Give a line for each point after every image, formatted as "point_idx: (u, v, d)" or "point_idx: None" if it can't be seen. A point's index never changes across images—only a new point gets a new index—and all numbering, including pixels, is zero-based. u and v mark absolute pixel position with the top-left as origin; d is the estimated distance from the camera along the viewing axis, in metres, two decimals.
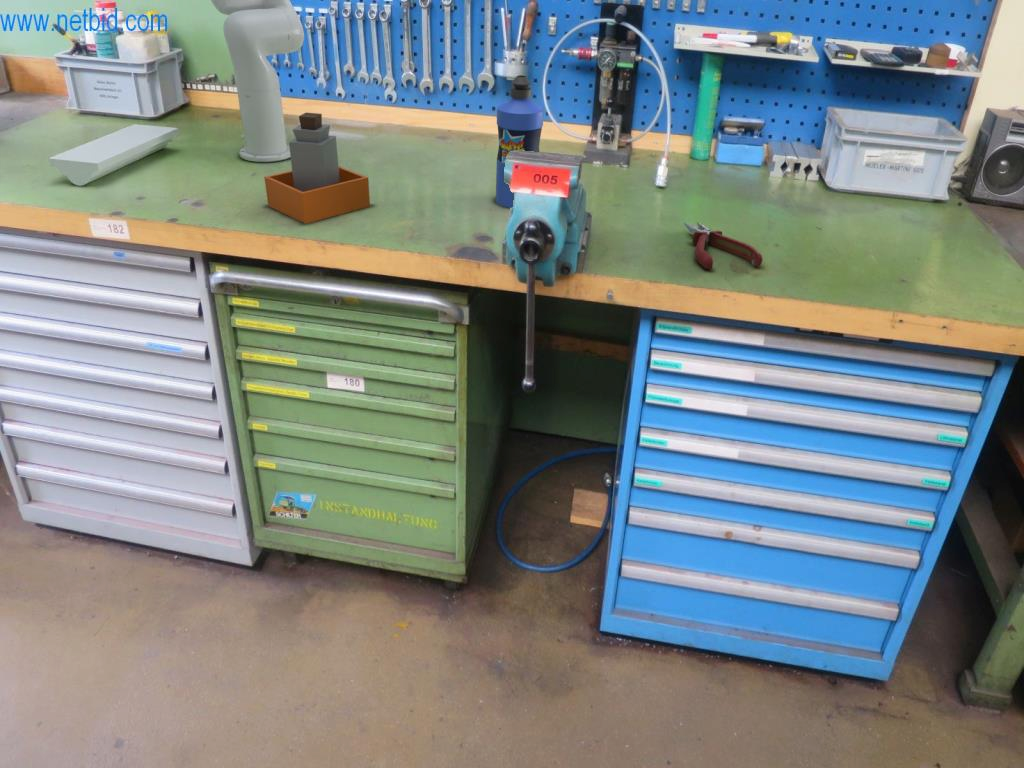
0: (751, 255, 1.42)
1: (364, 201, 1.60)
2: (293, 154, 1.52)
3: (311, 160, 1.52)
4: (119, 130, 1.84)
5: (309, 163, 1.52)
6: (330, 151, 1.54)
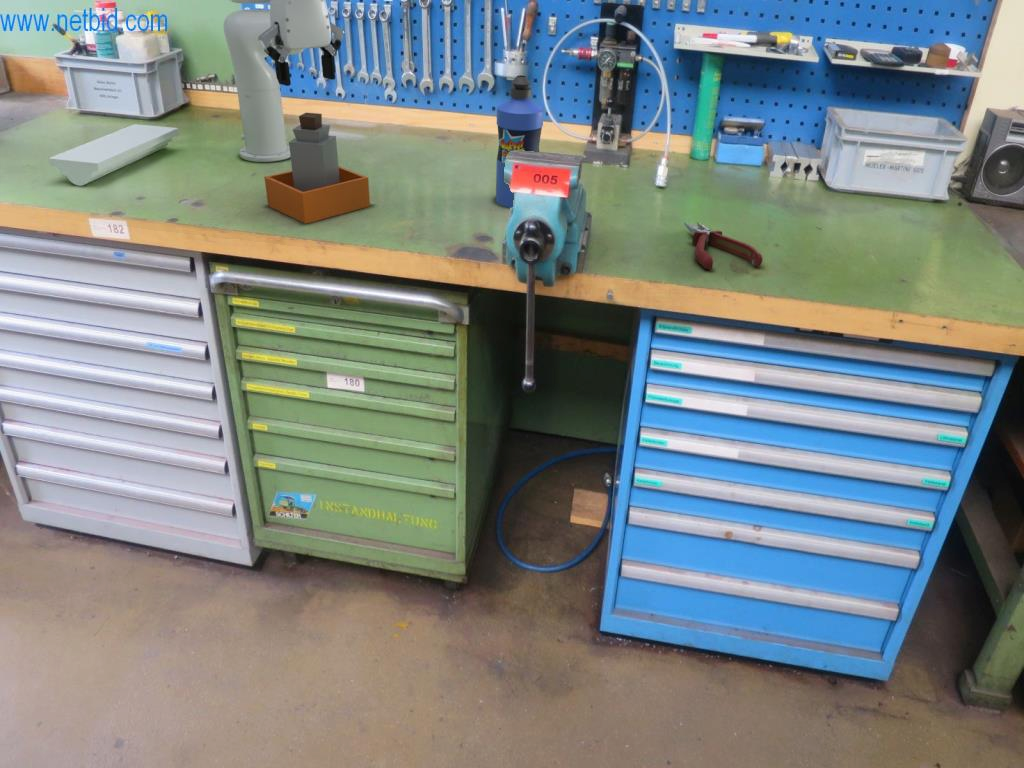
0: (751, 255, 1.42)
1: (364, 201, 1.60)
2: (293, 154, 1.52)
3: (311, 160, 1.52)
4: (119, 130, 1.84)
5: (309, 163, 1.52)
6: (330, 151, 1.54)
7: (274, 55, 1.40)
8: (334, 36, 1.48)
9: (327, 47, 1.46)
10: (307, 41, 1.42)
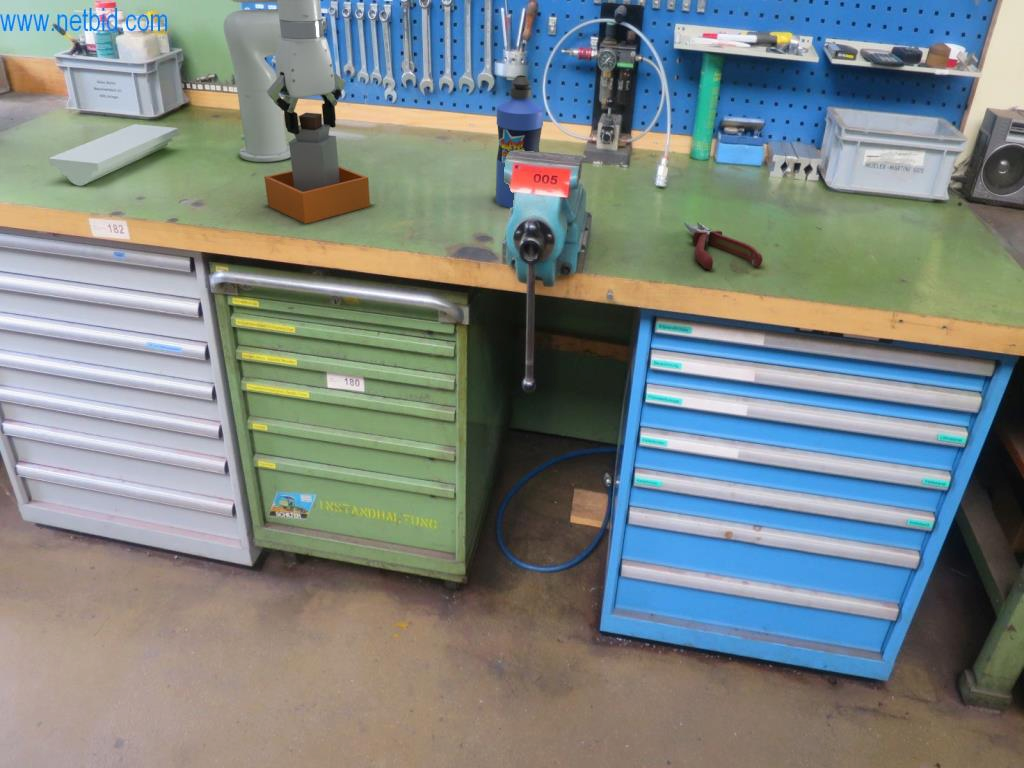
0: (751, 255, 1.42)
1: (364, 201, 1.60)
2: (293, 154, 1.52)
3: (311, 160, 1.52)
4: (119, 130, 1.84)
5: (309, 162, 1.52)
6: (330, 151, 1.54)
7: (283, 106, 1.45)
8: (335, 85, 1.53)
9: (328, 96, 1.51)
10: (311, 89, 1.47)
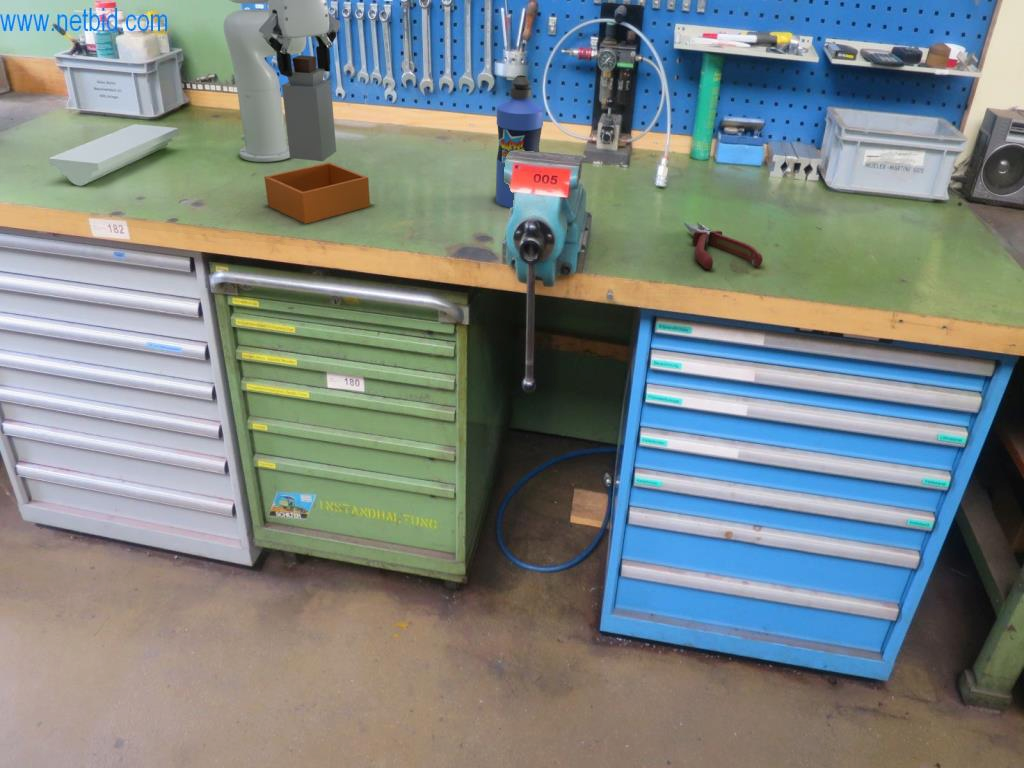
0: (751, 255, 1.42)
1: (364, 201, 1.60)
2: (286, 98, 1.47)
3: (305, 105, 1.47)
4: (119, 130, 1.84)
5: (302, 107, 1.47)
6: (325, 96, 1.49)
7: (276, 46, 1.40)
8: (330, 27, 1.47)
9: (323, 37, 1.45)
10: (305, 29, 1.41)
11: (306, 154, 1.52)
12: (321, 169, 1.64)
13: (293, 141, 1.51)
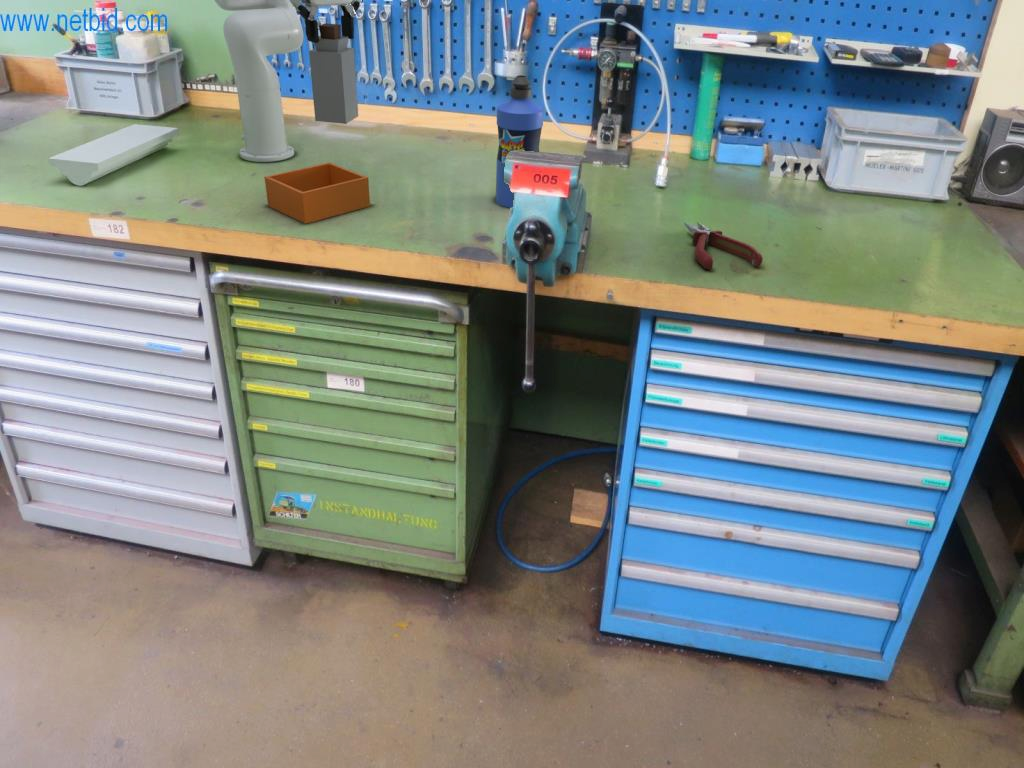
0: (751, 255, 1.42)
1: (364, 201, 1.60)
2: (313, 63, 1.57)
3: (330, 69, 1.57)
4: (119, 130, 1.84)
5: (328, 72, 1.57)
6: (349, 62, 1.59)
7: (304, 13, 1.50)
8: None
9: (347, 6, 1.56)
10: None
11: (330, 117, 1.62)
12: (321, 169, 1.64)
13: (318, 105, 1.61)
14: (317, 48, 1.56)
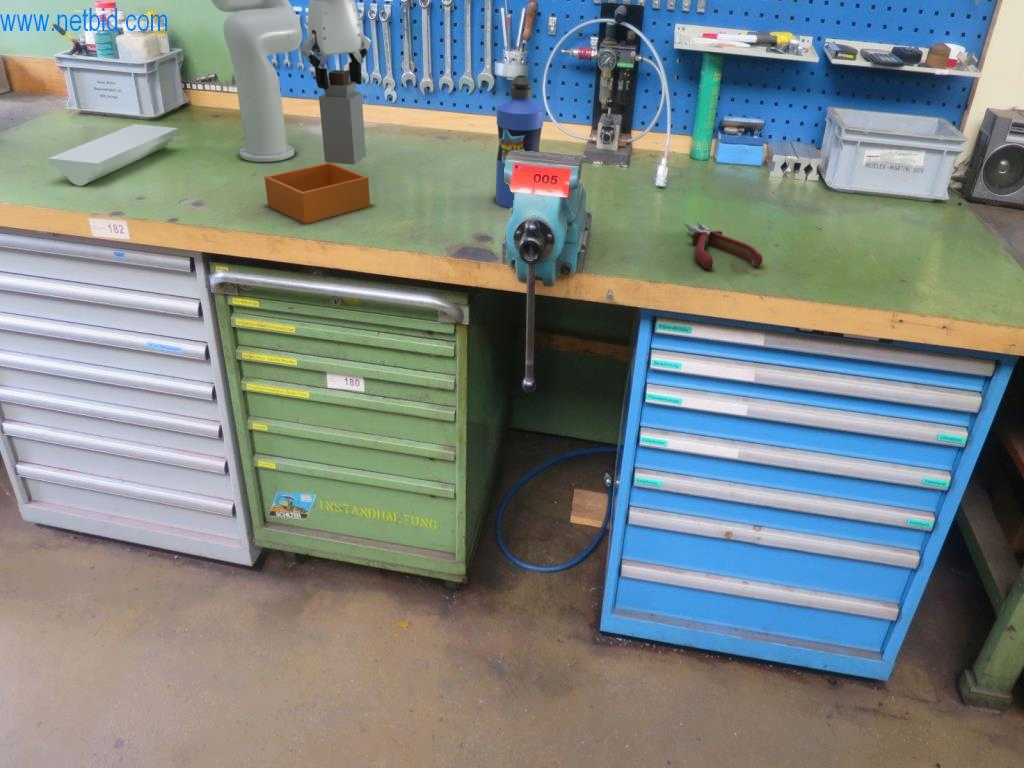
0: (751, 255, 1.42)
1: (364, 201, 1.60)
2: (323, 108, 1.64)
3: (339, 114, 1.64)
4: (119, 130, 1.84)
5: (337, 116, 1.64)
6: (357, 106, 1.66)
7: (315, 62, 1.57)
8: (361, 45, 1.65)
9: (355, 54, 1.63)
10: (340, 47, 1.59)
11: (339, 158, 1.69)
12: (321, 169, 1.64)
13: (328, 147, 1.68)
14: (326, 94, 1.63)
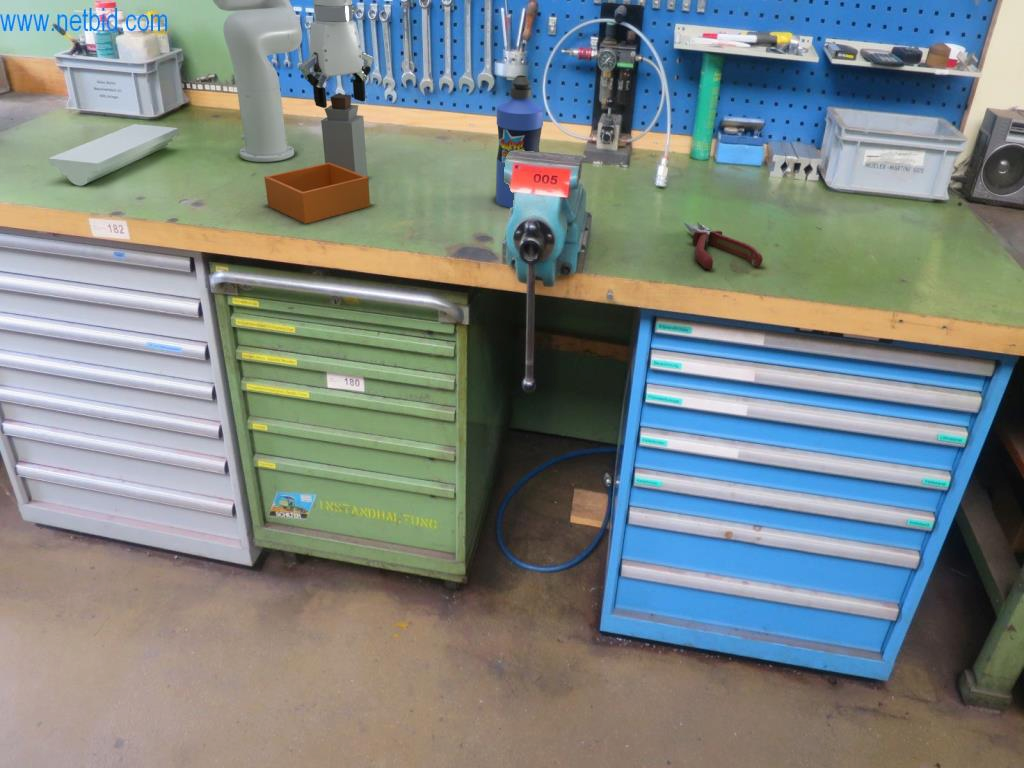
0: (751, 255, 1.42)
1: (364, 201, 1.60)
2: (325, 132, 1.66)
3: (341, 137, 1.66)
4: (119, 130, 1.84)
5: (339, 140, 1.67)
6: (358, 130, 1.69)
7: (313, 81, 1.59)
8: (364, 62, 1.67)
9: (359, 73, 1.65)
10: (342, 69, 1.61)
11: None
12: (321, 169, 1.64)
13: None
14: (329, 117, 1.66)
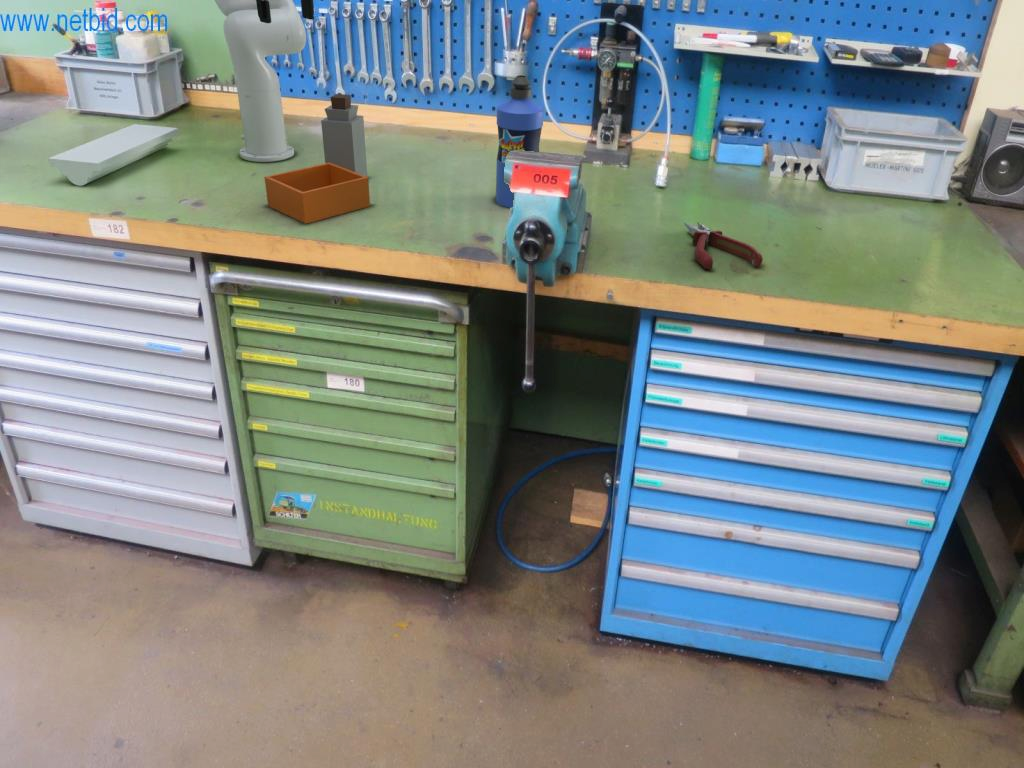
0: (751, 255, 1.42)
1: (364, 201, 1.60)
2: (325, 132, 1.66)
3: (341, 137, 1.66)
4: (119, 130, 1.84)
5: (339, 140, 1.67)
6: (358, 130, 1.69)
7: None
8: None
9: None
10: None
11: None
12: (321, 169, 1.64)
13: None
14: (329, 117, 1.66)
